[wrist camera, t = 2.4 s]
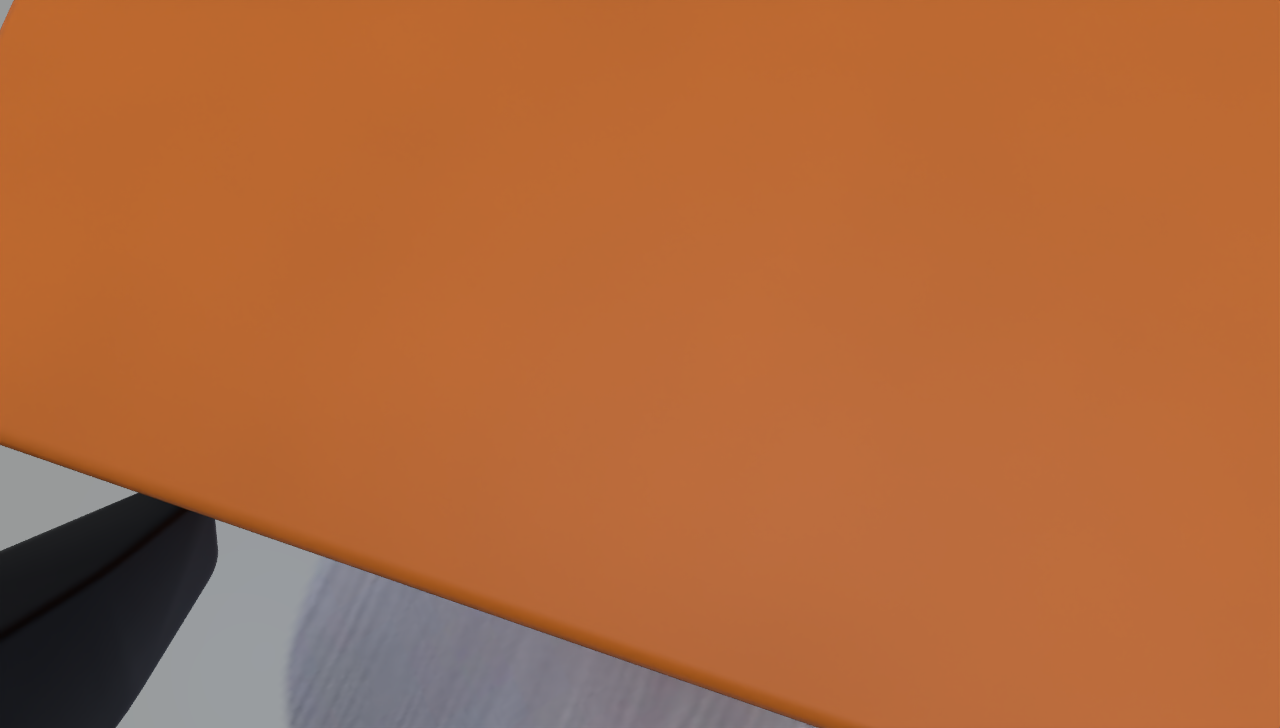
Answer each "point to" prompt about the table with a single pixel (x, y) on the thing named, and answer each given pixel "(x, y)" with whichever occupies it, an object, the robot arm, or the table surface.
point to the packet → (692, 325)
